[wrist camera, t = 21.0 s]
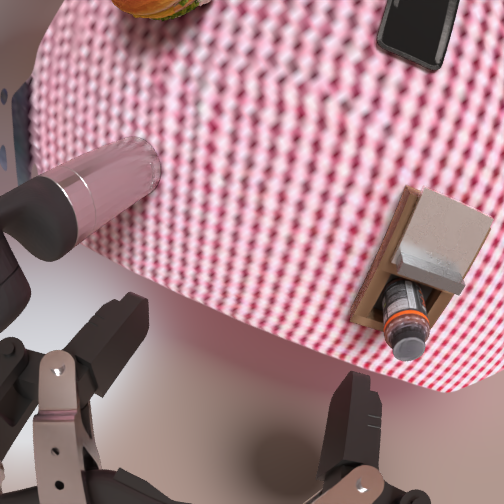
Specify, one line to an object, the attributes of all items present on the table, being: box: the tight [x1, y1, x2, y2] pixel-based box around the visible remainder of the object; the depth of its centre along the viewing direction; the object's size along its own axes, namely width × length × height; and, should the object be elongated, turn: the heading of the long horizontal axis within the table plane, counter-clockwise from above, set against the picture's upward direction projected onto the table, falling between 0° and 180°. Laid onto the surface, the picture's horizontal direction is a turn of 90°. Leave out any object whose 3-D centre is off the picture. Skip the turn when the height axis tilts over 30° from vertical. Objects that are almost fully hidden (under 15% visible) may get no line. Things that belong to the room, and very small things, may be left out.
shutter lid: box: [391, 185, 494, 295], centre depth 32 cm, size 10×10×3 cm
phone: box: [377, 0, 460, 70], centre depth 23 cm, size 8×1×15 cm
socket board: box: [350, 185, 491, 332], centre depth 38 cm, size 12×20×3 cm, turn 169°
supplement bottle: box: [382, 277, 430, 361], centre depth 37 cm, size 6×6×11 cm
